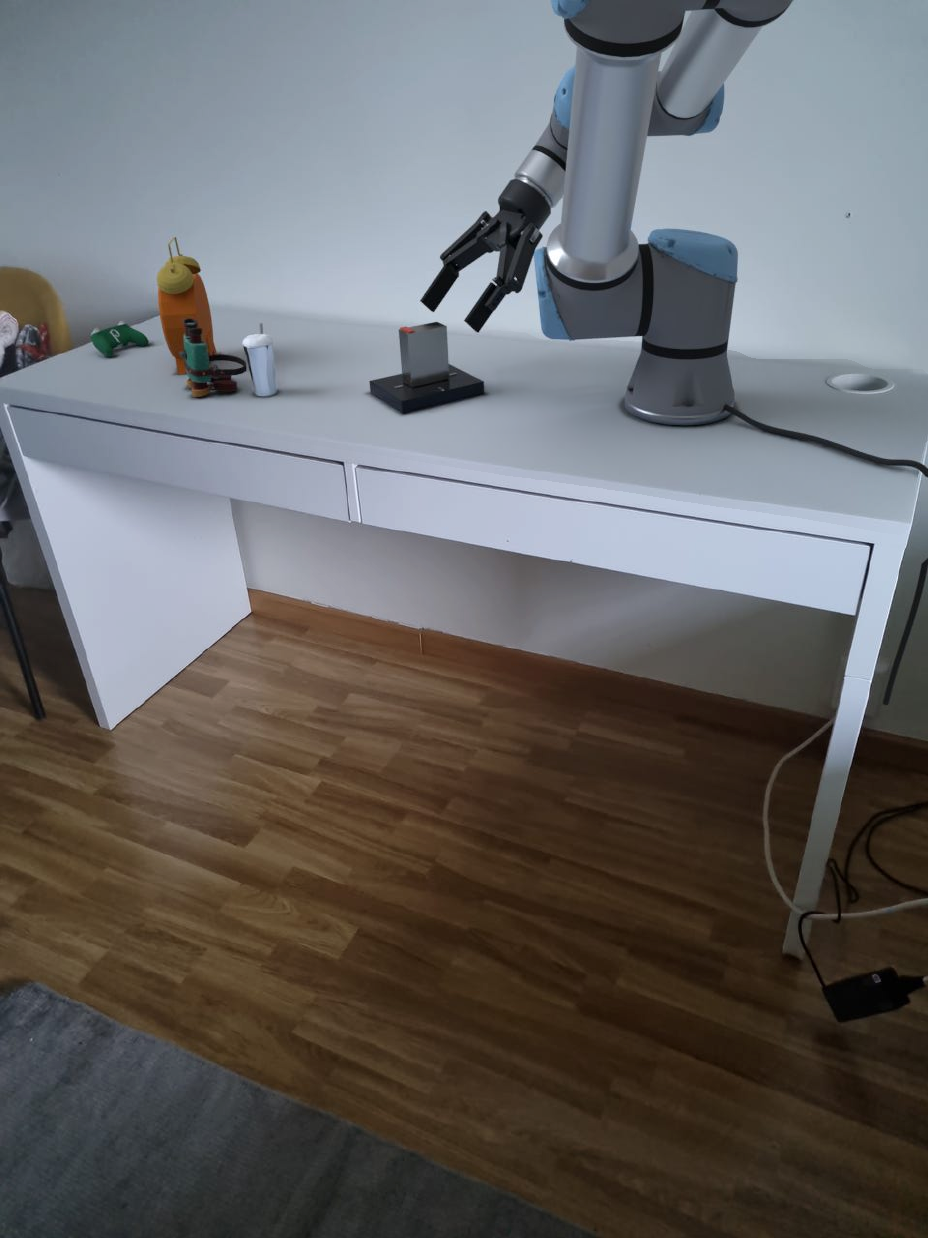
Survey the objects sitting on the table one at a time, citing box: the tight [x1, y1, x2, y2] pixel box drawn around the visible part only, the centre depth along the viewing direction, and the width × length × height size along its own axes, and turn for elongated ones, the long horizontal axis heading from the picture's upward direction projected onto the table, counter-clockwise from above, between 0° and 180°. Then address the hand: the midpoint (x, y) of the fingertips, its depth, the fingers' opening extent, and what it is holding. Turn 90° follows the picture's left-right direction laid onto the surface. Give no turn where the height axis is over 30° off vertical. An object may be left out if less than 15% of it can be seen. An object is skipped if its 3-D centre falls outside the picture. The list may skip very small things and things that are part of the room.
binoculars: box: [179, 318, 248, 398], centre depth 140 cm, size 9×11×10 cm
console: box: [369, 363, 485, 415], centre depth 136 cm, size 14×11×2 cm
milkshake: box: [241, 322, 277, 398], centre depth 137 cm, size 4×5×10 cm
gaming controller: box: [90, 319, 150, 358], centre depth 162 cm, size 9×4×6 cm
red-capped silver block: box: [398, 321, 450, 388], centre depth 133 cm, size 6×3×8 cm, turn 120°
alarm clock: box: [156, 236, 218, 375], centre depth 148 cm, size 13×6×20 cm, turn 6°
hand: (447, 316), depth 133 cm, fingers open, 13 cm apart
